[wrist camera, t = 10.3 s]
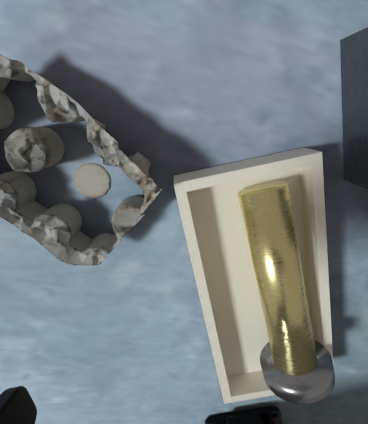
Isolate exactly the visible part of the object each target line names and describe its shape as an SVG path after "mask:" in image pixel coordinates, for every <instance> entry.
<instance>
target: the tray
mask: <svg viewBox="0 0 368 424" xmlns="http://www.w3.org/2000/svg"><path fill="white" fill-rule="evenodd" d="M273 181H284V182H287V183H288V187H289V193H290V199H291V205H292V211H293V217H294V223H295V229H296V235H297V241H298V247H299V253H300V259H301V265H302V271H303V277H304V283H305V289H306V295H307V301H308V307H309V313H310V319H311V325H312V331H313V337H314V339H315V340H316V341H318V342H320V343H321V344H322V345H323V346H325V347H326V349H327V350H328V351H329V353H330V354H331V357H332V361H333V348H332V329H331V311H330V292H329V273H328V254H327V235H326V216H325V197H324V178H323V159H322V152H320V151H316V150H312V149H308V148H299V149H294V150H290V151H285V152H280V153H276V154H271V155H267V156H262V157H257V158H253V159H248V160H243V161H239V162H234V163H229V164H225V165H220V166H216V167H211V168H206V169H202V170H197V171H192V172H188V173H183V174H179V175H174V183H173V184H174V188H175V193H176V197H177V201H178V206H179V210H180V214H181V219H182V223H183V227H184V232H185V236H186V240H187V245H188V249H189V253H190V258H191V262H192V266H193V271H194V275H195V279H196V283H197V288H198V292H199V296H200V301H201V305H202V309H203V314H204V318H205V322H206V327H207V331H208V335H209V340H210V344H211V348H212V353H213V357H214V361H215V366H216V370H217V374H218V379H219V383H220V387H221V392H222V396H223V400H224V404H226V403H232V402H238V401H243V400H249V399H255V398H261V397H266V396H272V395H275V394H274V393H273V392H272V391H271V390H270V389H269V388H268V386H267V385H266V383H265V380H264V377H263V373H262V368H261V364H260V354H261V351H262V349H263V347H264V346H265V345H266V344H267V343H268V342H269V338H268V333H267V329H266V324H265V319H264V315H263V310H262V305H261V300H260V296H259V291H258V286H257V282H256V277H255V272H254V268H253V263H252V258H251V254H250V249H249V244H248V240H247V235H246V230H245V226H244V221H243V216H242V212H241V207H240V202H239V198H238V192H239V191H240V190H242V189H244V188H246V187H249V186H252V185H256V184H260V183H265V182H273Z"/></svg>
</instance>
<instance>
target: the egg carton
mask: <svg viewBox="0 0 368 424" xmlns="http://www.w3.org/2000/svg"><path fill="white" fill-rule="evenodd" d="M10 80H16V81H22V82H31V81H34V80H36V81H37V83H36V84H35V86H36V88H37V97H38V102H39V103H40V105H41V107H42V108H43V110H44V112H45V114H46V118H47V119H49V120H50V121H52V122H67V123H70V122H79V121H82V120H86V121H87V139H88V142H90V143H92V144H93V149H94V151H95V153H96V155H98V156H100V157H101V158H102V159H103V163H104V164H106V165H110V166H114V167H115V166H119V167H120V168H121V169H122V171H123V172H124V173H125V174H126V175H127V176H128V177H129V178H130V179H132V180H133V181H134V182H135V183H136V184H137V185H138V186H139V187H140V188H141V190H142V191H143V193H144V198H143V197H140V196H130V197H127V198H125V199H124V200H123V201H122V202H121V203H120V205H119V206H118V208H117V209H116V211H115V212H114V214H113V217H112V227H113V230H114V232H115V234H116V235H113V234H110V233H102V234H99V235H97V236H96V237H94V238H90V237H88V236H86V235H85V234H83V233H82V232H81V231H80V229H81V227H82V217H81V215H80V213H79V212H78V211H77V209H76V208H74V207H73V206H71V205H68V204H56V205H54V206H53V207H51V208H49V209H47V208H45V207H43V206H42V205H41V204H39V203H38V202H36V201H35V197H36V186H35V183H34V182H33V180H32V179H31V178H30V177H29V176H28V175H26V174H25V173H23V172H38V171H40V170H43V169H45V168H48V167H50V166H53V165H55V164H57V163H58V162H60V160H61V159H62V157H63V155H64V151H65V148H64V143H63V141H62V139H61V137H60V136H59V135H58V134H57V133H56V132H55V131H54V130H52V129H50V128H47V127H27V128H21V129H17V130H16V131H14V132H13V133H12V134H11V135H10V136H9V137H8V138H7V139H6V140H5V141H4V146H5V157H6V160H7V161H8V163H9V165H10V166H11V168H12V169H13V170H15V171H9V172H6V173H2V174H0V217H1V218H3V219H5V220H7V221H8V222H10V223H12V224H13V225H14V226H16V227H17V228H18V229H19V230H21V231H22V232H23V233H25V234H27V235H29V236H31V237H33V238H34V239H35V240H37V241H38V242H39V243H40V244H41V245H42V246H44V247H45V248H46V249H47V250H48V251H49V252H50V253H51V254H53V255H54V256H55V257H56V258H57V259H59V260H61V261H63V262H65V263H67V264H72V265H99V264H100V263H101V262H102V261H103V260H104V259H105V258H106V256H107V255H108V253H110V252H111V251H112V250H113V249H114V248H115V247H116V245H117V244H118V243H119V242H120V241H121V239H122V237H123V236H124V235H125V234H126V233H127V232H128V231H130V230H131V229H132V228H133V227H134V226H135V225H136V224H137V223H138V222H139V221H140V220H141V218H142V217H143V216H144V215H145V214H143V212H144V211H145V210H146V208H147V207H148V206H149V205H150V204H151V203H152V201H153V200H154V199H155V198H156V197H157V195H158V194H159V193H160V192H161V191H162V187H161V188H159V187H158V186H157V185H156V184H155V183H154V181H153V180H152V179H151V178H150V177H149V167H150V162H149V160H148V159H147V158H146V157H144V156H143V155H142V154H140V153H139V152H138V151H137V153H135V154H134V155H132V156H129V157H127V156H126V155H125V154H124V153H123V152H122V151H121V150H120V149H119V148H118V142H117V141H116V140H115V139H114V138H113V137H112V136H110V135H109V134H108V133H107V132H106V131H105V128H106V126H105V125H104V124H102V123H101V122H99V121H97V120H96V119H94V118H93V117H91V116H90V115H89V114H88V113H87V112H86V111H85V110H84V109H83V108H82V107H81V106H80V105H79V104H78V103H77V102H76V101H75V100H73V99H72V98H71V97H70V96H68V95H67V94H66V93H64V92H63V91H61V90H60V89H58V88H57V87H56V86H55V85H54V84H53V83H52V82H50V81H49V80H48V79H46V78H44V77H42V76H39V75H38V74H36V73H34V72H32V71H30V70H29V69H27V68H26V66H25V65H24V64H22V63H21V62H19V61H16V60H11V59H9V58H7V57H5V56H3V55H1V54H0V130H1V129H5V128H7V127H8V126H10V125H11V124H12V122H13V120H14V107H13V104H12V102H11V101H10V99H9V98H8V97H7V96H6V94H5V93H4V90H5V88H6V87H7V85H8V83H9V81H10ZM74 181H75V185H76V187H77V188H78V190H79V191H80V192H81V193H82V195H84V196H86V197H89V198H99V197H102V196H104V195H105V194H106V193H107V192H108V190H109V188H110V181H111V179H110V177H109V174H108V172H107V171H106V170H105V169H104V168H103V167H102V166H100V165H97V164H95V163H87V164H84V165H81V166H80V167H79V168H78V169H77V171H76V173H75V179H74Z"/></svg>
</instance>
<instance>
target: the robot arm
mask: <svg viewBox="0 0 368 424" xmlns="http://www.w3.org/2000/svg"><path fill="white" fill-rule="evenodd" d="M36 415H37V409H36V406H35V404H34V402H33V400H32V398H31V396H30V395H29V393H28V391H27V389H26V388H25V387H23V386H19V387H14V388H9V389H7V390H5V391H4V392H3V393H2V394H1V395H0V424H35V420H36ZM205 424H282V421H281V414H280V411H279V409H278V408H277V407H268V408H262V409H256V410H250V411H244V412H239V413H233V414H227V415H221V416H216V417H210V418H207V419H206V420H205Z"/></svg>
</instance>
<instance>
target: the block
mask: <svg viewBox="0 0 368 424" xmlns="http://www.w3.org/2000/svg"><path fill="white" fill-rule="evenodd" d="M340 43H341V79H342V114H343V149H344V180H346V181H349V182H351V183H354V184H357V185H359V186H362V187H364V188H367V189H368V28H365V29H363V30H361V31H359V32H357V33H355V34H352V35H350V36H348V37H346V38H344V39H342V40H340Z"/></svg>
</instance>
